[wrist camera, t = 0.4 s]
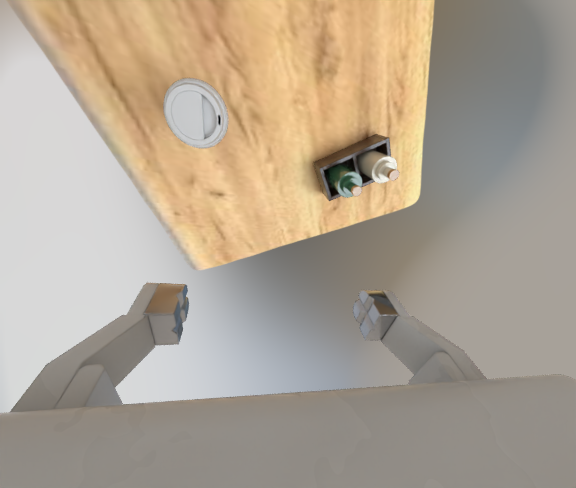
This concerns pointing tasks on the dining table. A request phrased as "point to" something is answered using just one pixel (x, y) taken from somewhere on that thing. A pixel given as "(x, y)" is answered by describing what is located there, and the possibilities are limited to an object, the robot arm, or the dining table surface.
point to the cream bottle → (377, 166)
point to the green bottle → (344, 180)
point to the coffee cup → (195, 113)
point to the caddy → (349, 161)
